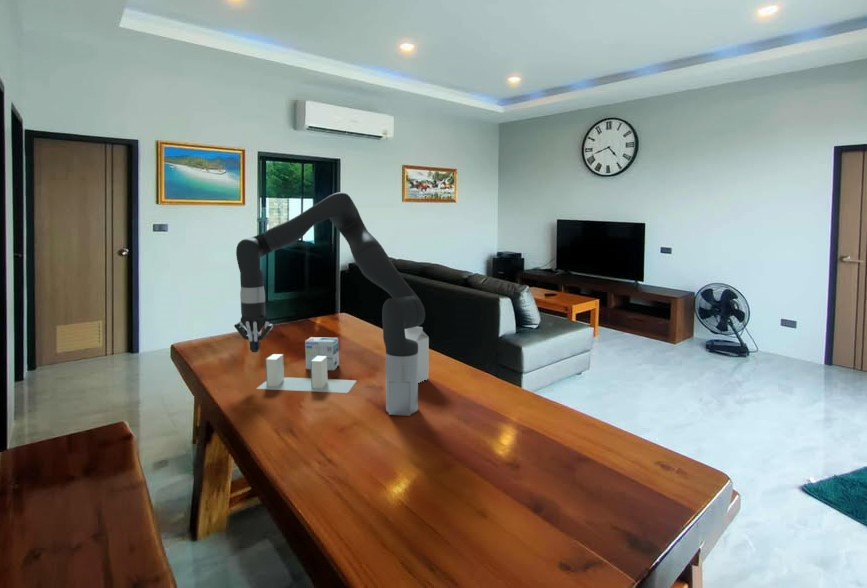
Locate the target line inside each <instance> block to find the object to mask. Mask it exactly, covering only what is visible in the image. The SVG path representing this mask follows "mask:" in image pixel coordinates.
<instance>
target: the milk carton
mask: <svg viewBox="0 0 867 588" xmlns="http://www.w3.org/2000/svg"><path fill="white" fill-rule="evenodd" d="M423 329H424V328H423V327H422V326H417V327H413V328H408V329H405V337H406V339H411V340H414V341H416V342H417V343H418V383H419V384H420V382H421V383H423V382H425V381H424V380H426V381H428V380H429V364H430V363H429V354H430V352H429V351H430V350H429V349H430V348H429V347H430V346H429V345H430V344H429V343H430V339H429V338H430V337H429V336H428V335H427V334H426V332H425V331H424V330H423ZM427 379H428V380H427ZM422 381H423V382H422Z"/></svg>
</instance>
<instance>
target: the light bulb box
mask: <svg viewBox="0 0 867 588" xmlns="http://www.w3.org/2000/svg"><path fill="white" fill-rule="evenodd" d="M304 347H305V348H304V349H305V370H311V360H312V359H314V358H315V357H316V356H327V371H335V370H336V369H337V366H338V365H340V359H339V357H340V353H339V351H340V350H339V337H325V336H324V337H321V336H320V337H319V336H318V337H317V336H316V337H314V336H310V337H309V338H308V339H305V341H304ZM338 367H339V366H338Z"/></svg>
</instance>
